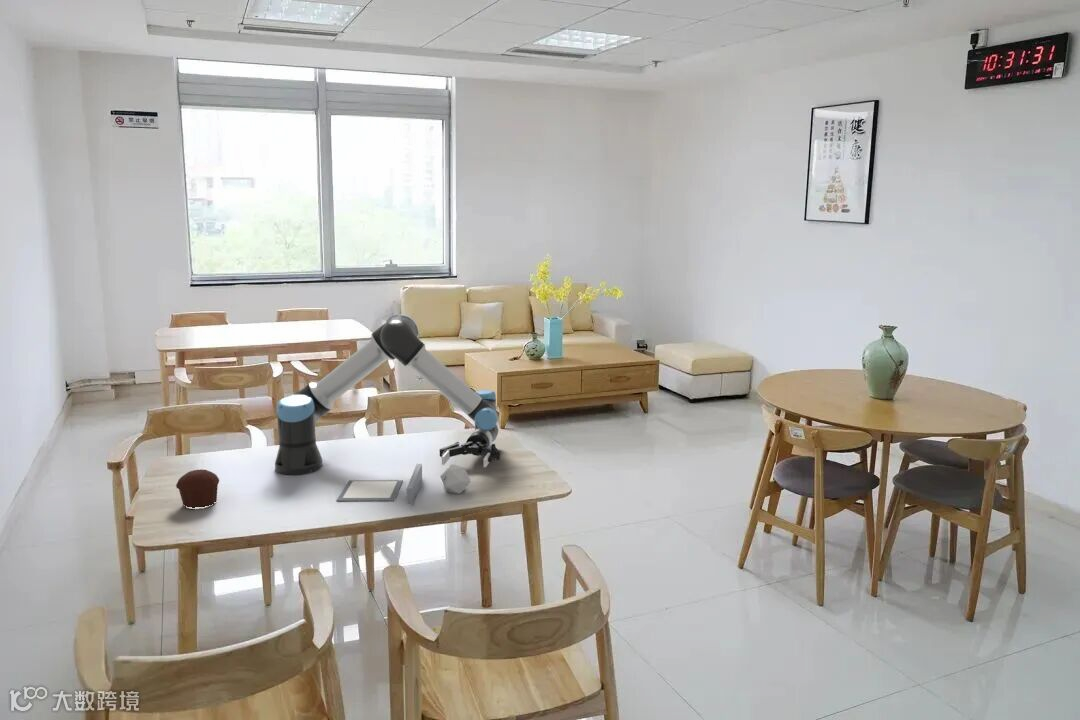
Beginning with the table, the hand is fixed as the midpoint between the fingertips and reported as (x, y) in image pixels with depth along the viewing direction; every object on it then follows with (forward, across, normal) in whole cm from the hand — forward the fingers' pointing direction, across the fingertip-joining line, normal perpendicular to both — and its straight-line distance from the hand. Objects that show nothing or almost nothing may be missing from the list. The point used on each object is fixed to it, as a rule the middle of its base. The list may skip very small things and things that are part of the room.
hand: (463, 462), depth 252 cm
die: (+10, 0, -6) cm, 11 cm away
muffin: (+32, +71, -6) cm, 78 cm away
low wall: (+12, +12, -6) cm, 18 cm away
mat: (+14, +26, -6) cm, 30 cm away
